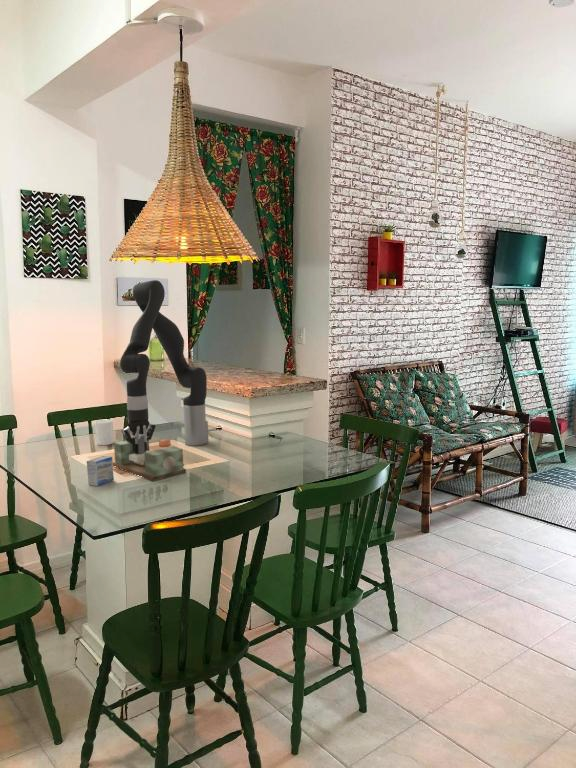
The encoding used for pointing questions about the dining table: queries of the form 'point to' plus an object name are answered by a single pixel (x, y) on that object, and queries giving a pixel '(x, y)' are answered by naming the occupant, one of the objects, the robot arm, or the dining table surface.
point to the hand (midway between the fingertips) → (140, 452)
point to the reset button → (164, 443)
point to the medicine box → (100, 470)
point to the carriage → (139, 457)
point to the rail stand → (150, 461)
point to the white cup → (104, 431)
